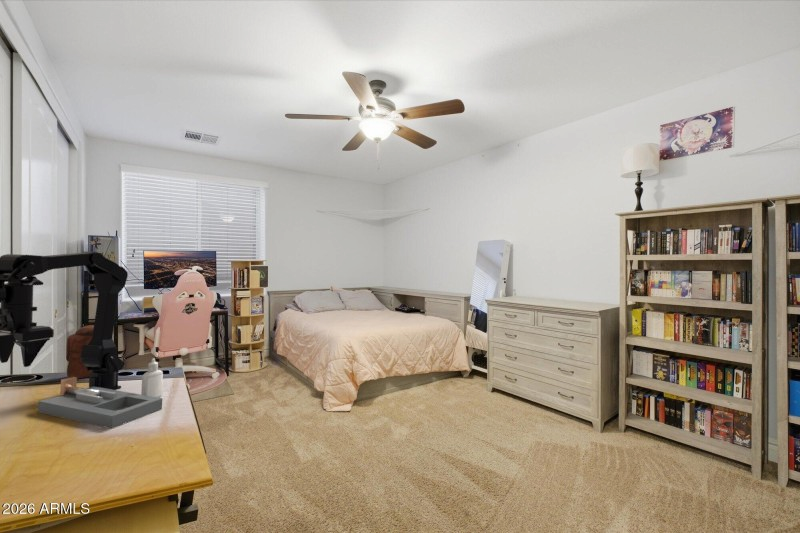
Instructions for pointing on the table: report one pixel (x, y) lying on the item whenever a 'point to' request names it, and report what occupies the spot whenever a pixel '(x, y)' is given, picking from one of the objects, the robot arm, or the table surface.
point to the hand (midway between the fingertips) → (15, 364)
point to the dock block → (101, 407)
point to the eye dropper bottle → (152, 380)
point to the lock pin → (70, 387)
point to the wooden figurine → (78, 352)
